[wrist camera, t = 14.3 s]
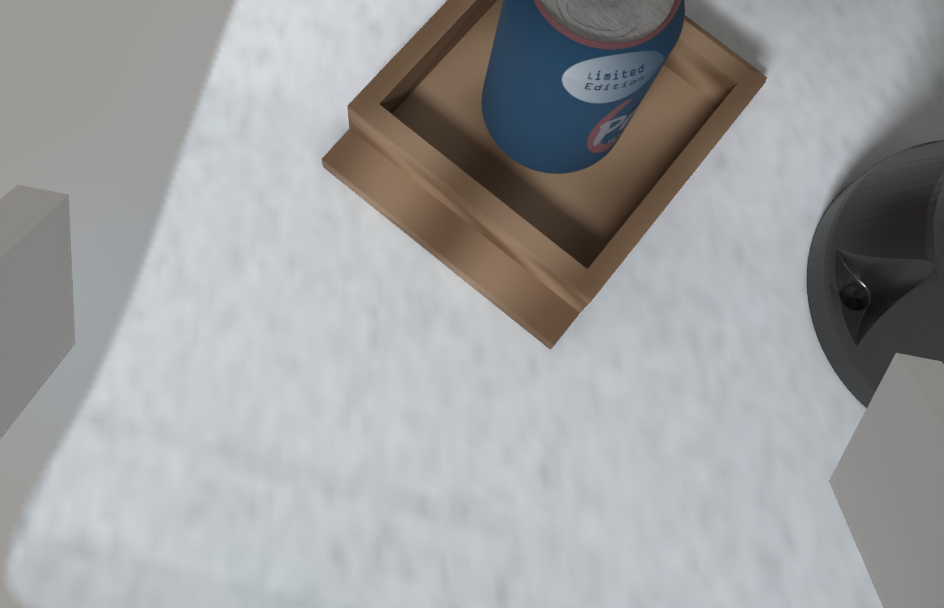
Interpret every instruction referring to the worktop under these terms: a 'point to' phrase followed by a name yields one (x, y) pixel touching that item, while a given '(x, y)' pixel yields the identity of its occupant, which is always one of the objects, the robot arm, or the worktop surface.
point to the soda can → (573, 76)
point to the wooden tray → (517, 187)
